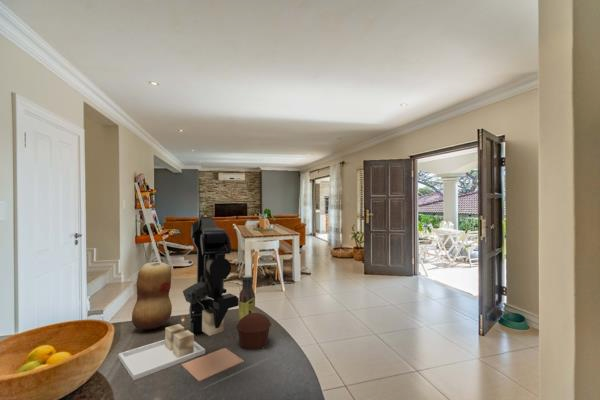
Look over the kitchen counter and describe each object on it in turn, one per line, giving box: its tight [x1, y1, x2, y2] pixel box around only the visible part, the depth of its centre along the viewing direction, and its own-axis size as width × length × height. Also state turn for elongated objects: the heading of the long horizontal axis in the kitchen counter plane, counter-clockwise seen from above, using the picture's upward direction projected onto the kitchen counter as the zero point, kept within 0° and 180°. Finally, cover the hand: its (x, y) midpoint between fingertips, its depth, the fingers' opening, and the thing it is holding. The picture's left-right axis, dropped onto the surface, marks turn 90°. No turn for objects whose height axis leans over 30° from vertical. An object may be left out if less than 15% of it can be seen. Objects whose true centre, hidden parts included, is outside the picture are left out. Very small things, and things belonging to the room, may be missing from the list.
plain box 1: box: [164, 323, 186, 351], centre depth 93 cm, size 4×4×6 cm
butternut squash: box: [131, 261, 173, 331], centre depth 109 cm, size 14×13×25 cm
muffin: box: [236, 312, 272, 350], centre depth 96 cm, size 12×11×10 cm
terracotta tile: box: [181, 347, 245, 382], centre depth 83 cm, size 14×11×1 cm
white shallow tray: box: [117, 339, 206, 381], centre depth 87 cm, size 20×16×2 cm
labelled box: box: [202, 309, 225, 337], centre depth 83 cm, size 4×4×6 cm
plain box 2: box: [173, 329, 195, 358], centre depth 88 cm, size 4×4×6 cm
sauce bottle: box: [237, 274, 256, 323], centre depth 109 cm, size 6×6×20 cm
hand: (213, 325), depth 83 cm, fingers closed on labelled box, 4 cm apart
